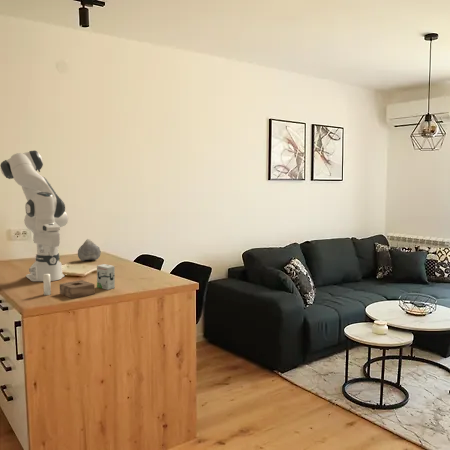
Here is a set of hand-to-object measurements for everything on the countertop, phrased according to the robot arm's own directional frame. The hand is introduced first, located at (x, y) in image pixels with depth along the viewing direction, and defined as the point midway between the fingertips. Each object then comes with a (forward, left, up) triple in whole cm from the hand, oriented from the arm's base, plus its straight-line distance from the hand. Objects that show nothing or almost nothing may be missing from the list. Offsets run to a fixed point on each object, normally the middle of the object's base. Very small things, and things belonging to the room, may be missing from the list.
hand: (46, 254), depth 224 cm
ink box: (+8, +28, -20) cm, 35 cm away
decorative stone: (-63, +61, -20) cm, 90 cm away
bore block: (+9, +11, -20) cm, 25 cm away
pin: (0, 0, -20) cm, 20 cm away
